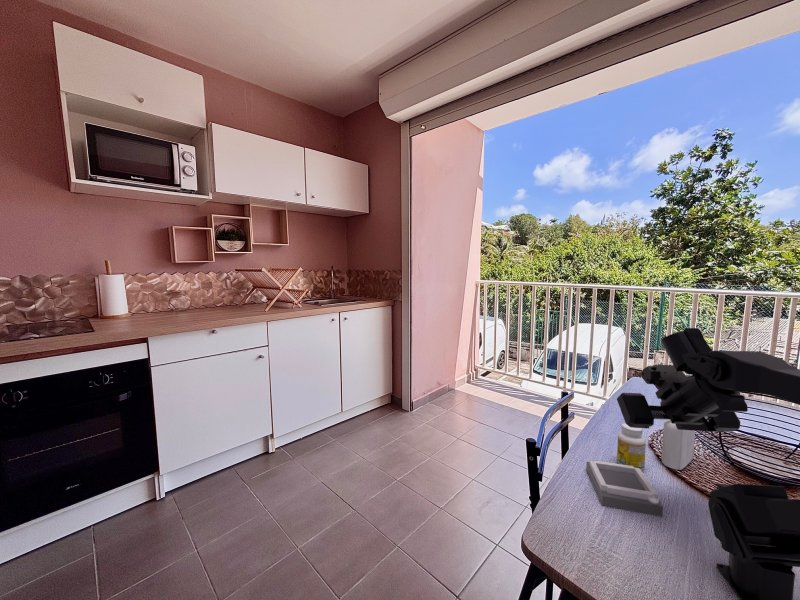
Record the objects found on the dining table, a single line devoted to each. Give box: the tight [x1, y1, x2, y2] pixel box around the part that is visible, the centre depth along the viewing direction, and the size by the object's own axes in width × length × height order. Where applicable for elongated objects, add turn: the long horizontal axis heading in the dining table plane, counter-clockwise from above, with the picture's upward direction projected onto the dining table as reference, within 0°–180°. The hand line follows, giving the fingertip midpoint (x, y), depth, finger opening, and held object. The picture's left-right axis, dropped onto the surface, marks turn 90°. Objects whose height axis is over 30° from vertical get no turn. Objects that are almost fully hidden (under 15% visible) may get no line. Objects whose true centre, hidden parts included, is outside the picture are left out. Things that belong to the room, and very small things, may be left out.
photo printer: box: [661, 419, 696, 471], centre depth 76 cm, size 10×4×12 cm, turn 123°
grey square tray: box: [586, 460, 664, 517], centre depth 66 cm, size 12×10×3 cm
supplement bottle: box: [616, 422, 647, 472], centre depth 75 cm, size 5×5×10 cm
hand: (653, 426), depth 67 cm, fingers open, 9 cm apart
